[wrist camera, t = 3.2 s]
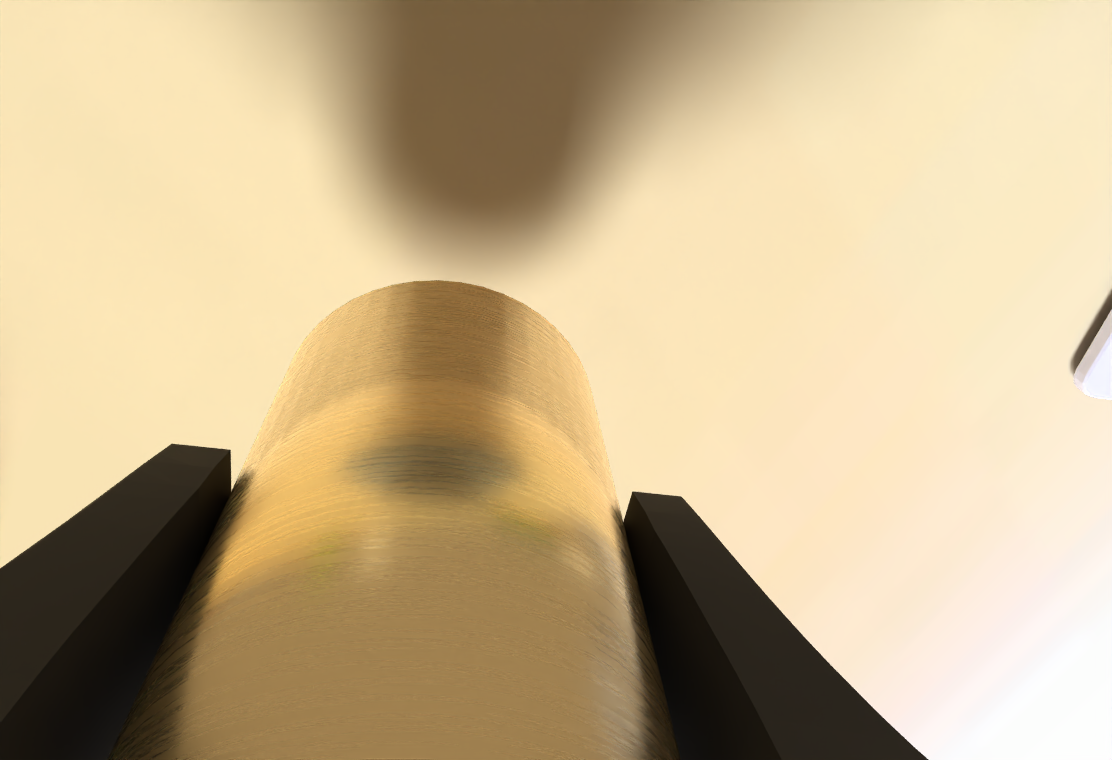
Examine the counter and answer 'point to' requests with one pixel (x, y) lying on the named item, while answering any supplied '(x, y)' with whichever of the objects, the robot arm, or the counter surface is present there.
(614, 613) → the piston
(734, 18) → the counter surface
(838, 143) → the counter surface
